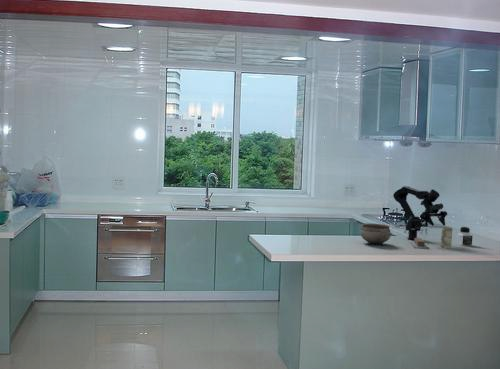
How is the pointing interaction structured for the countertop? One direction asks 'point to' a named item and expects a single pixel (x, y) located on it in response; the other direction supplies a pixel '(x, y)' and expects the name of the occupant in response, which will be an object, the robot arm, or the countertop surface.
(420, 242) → the flat rectangular plate
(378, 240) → the cooking pot
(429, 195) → the robot arm
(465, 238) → the medicine bottle
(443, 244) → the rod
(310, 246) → the countertop surface
